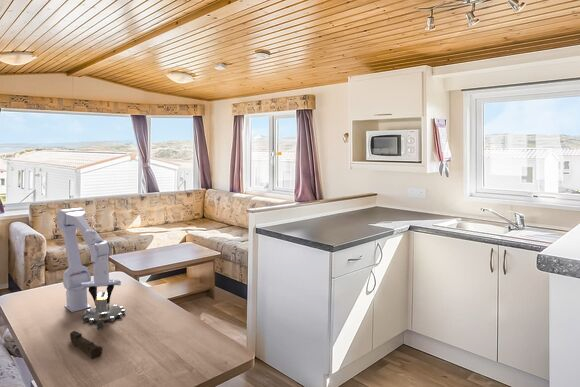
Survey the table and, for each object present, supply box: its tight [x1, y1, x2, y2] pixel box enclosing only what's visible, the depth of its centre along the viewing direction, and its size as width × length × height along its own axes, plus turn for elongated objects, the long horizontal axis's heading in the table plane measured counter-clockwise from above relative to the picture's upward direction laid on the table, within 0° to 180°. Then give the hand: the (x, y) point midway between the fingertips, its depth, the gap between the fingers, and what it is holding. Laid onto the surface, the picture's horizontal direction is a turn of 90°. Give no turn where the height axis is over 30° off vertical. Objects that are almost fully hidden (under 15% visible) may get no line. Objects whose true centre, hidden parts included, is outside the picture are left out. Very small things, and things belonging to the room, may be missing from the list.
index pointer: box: [96, 320, 105, 330], centre depth 161 cm, size 3×2×2 cm, turn 18°
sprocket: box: [82, 304, 126, 324], centre depth 172 cm, size 16×16×5 cm
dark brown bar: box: [69, 330, 103, 360], centre depth 144 cm, size 19×4×5 cm, turn 50°
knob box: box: [94, 291, 110, 313], centre depth 168 cm, size 10×4×5 cm, turn 18°
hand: (102, 303), depth 168 cm, fingers closed on knob box, 4 cm apart
